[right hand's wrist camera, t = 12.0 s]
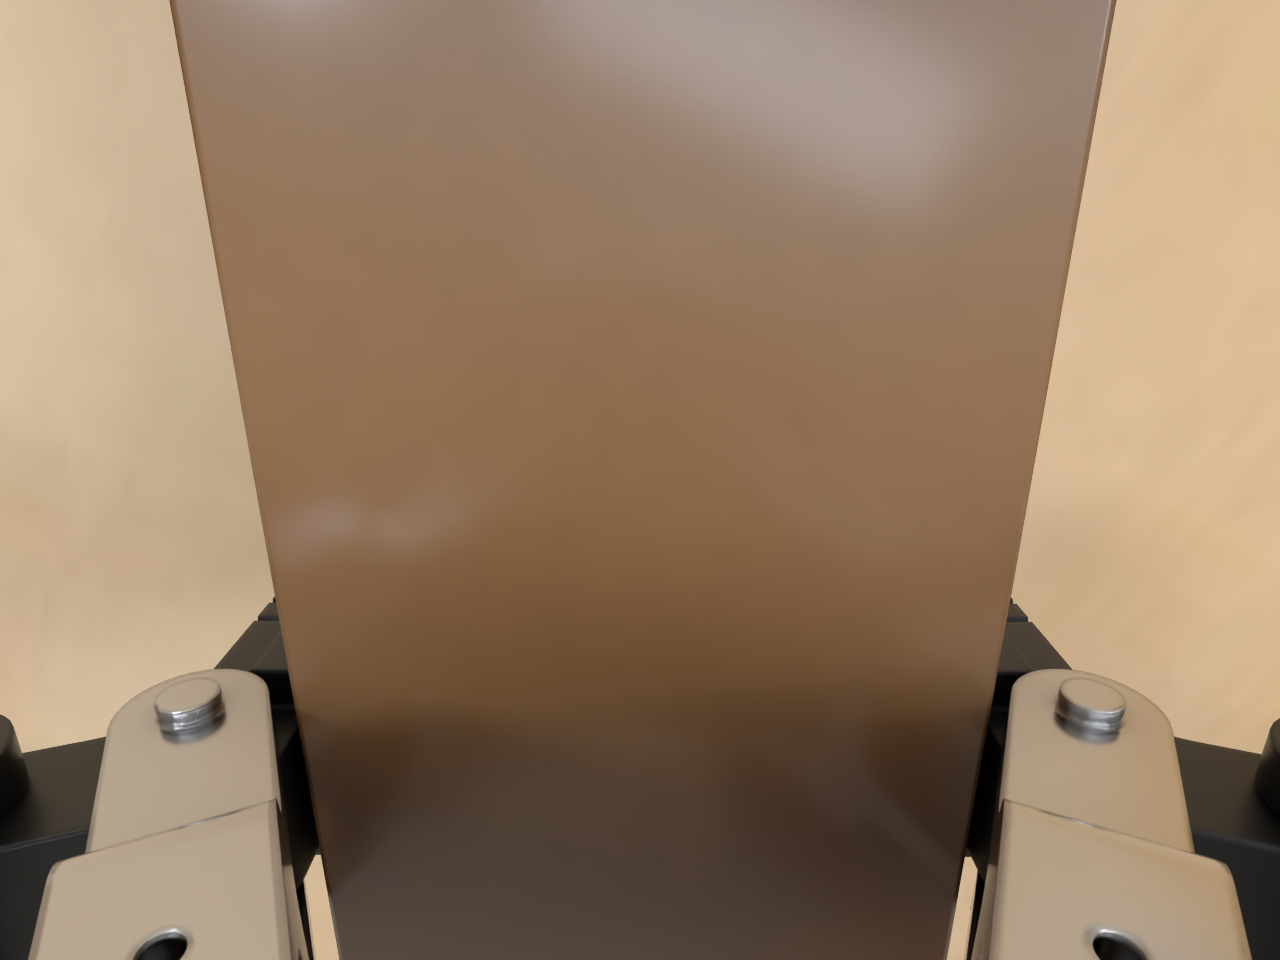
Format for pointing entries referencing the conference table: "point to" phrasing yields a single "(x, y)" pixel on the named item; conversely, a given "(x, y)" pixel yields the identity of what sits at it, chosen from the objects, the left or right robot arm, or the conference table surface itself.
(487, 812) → the box
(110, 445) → the conference table surface
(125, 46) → the conference table surface
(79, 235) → the conference table surface
